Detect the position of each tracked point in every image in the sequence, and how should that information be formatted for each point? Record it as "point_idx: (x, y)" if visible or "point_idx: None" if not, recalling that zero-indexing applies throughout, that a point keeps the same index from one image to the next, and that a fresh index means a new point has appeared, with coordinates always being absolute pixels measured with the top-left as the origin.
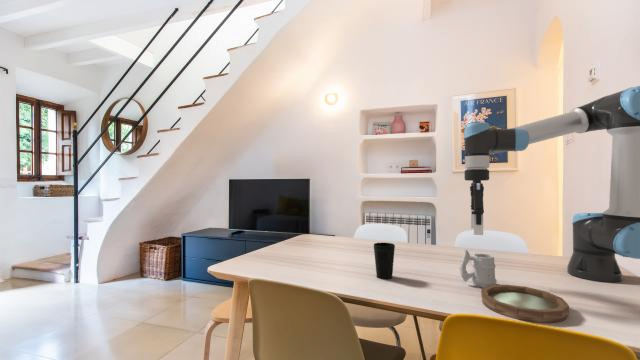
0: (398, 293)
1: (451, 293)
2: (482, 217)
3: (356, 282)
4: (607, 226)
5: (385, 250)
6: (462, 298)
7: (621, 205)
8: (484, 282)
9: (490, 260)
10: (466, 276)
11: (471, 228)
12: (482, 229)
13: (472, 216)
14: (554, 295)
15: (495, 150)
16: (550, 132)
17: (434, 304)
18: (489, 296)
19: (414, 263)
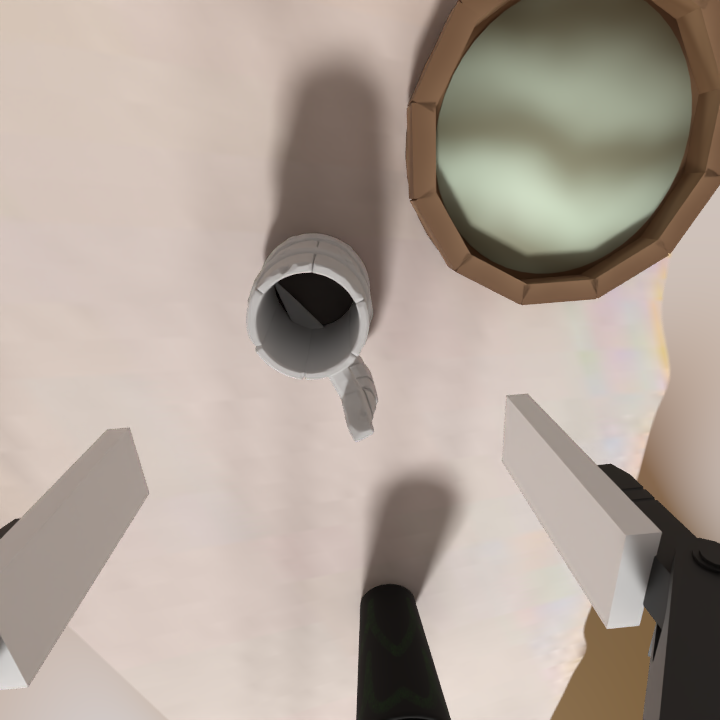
0: (539, 534)
1: (483, 395)
2: (632, 510)
3: (477, 647)
4: None
5: (448, 712)
6: (525, 357)
7: None
8: (369, 288)
9: (356, 282)
10: (366, 366)
11: (148, 491)
12: (552, 425)
13: (76, 588)
14: None
15: None
16: None
17: (608, 431)
18: (607, 275)
19: (131, 565)
